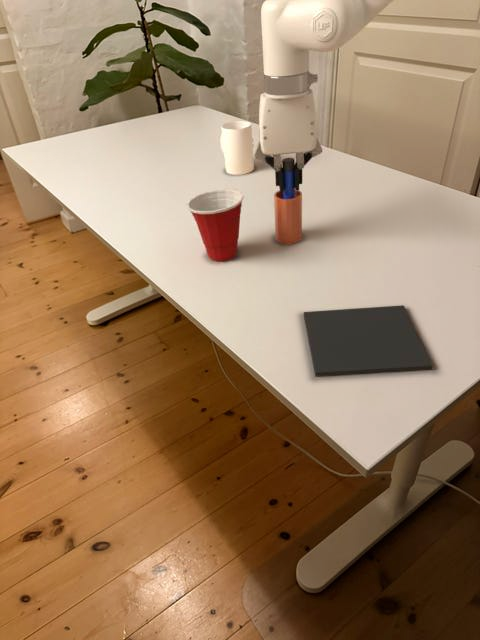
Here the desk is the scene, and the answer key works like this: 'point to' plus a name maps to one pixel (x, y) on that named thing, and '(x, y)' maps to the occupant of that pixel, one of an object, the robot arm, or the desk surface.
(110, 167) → the desk surface
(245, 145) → the mug
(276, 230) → the pen glass
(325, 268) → the desk surface
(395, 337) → the desk mat
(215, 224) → the plastic cup
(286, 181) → the marker
